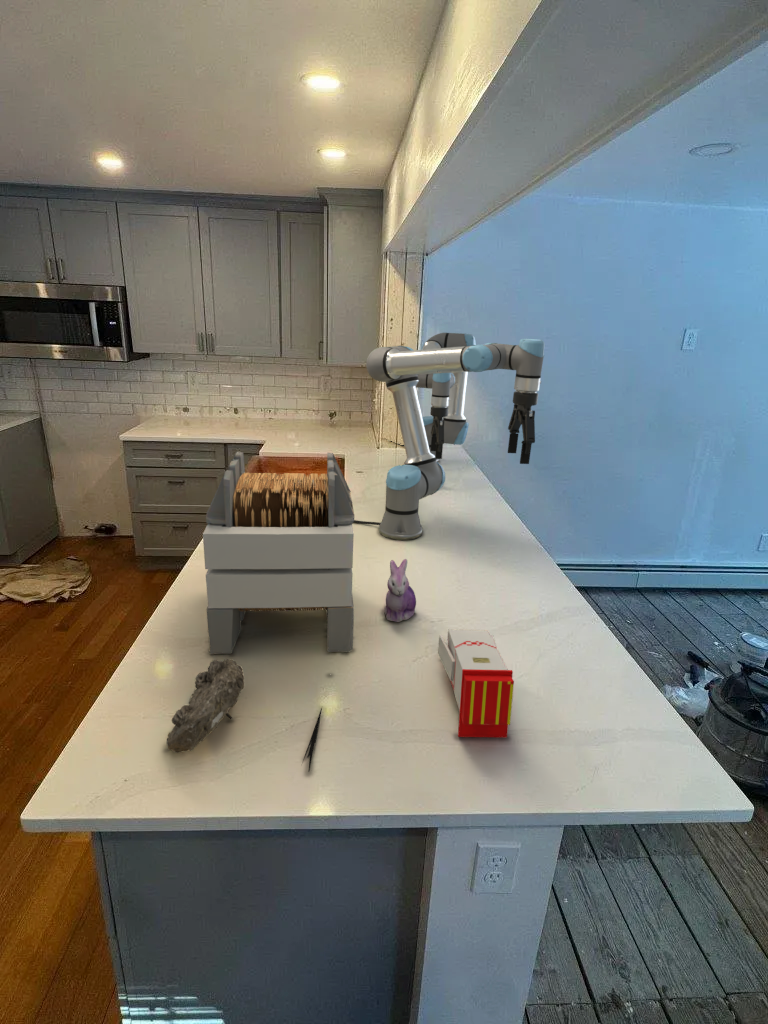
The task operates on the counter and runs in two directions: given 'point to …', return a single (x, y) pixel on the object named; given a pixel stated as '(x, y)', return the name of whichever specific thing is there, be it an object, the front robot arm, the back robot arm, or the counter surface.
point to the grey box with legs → (279, 550)
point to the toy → (478, 682)
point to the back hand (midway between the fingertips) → (436, 454)
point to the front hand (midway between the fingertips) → (517, 458)
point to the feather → (313, 740)
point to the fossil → (206, 705)
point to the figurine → (399, 594)
